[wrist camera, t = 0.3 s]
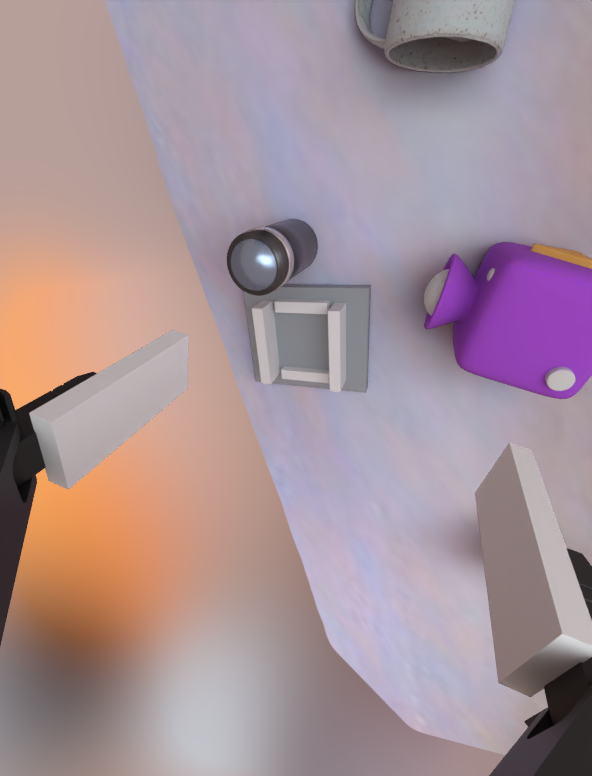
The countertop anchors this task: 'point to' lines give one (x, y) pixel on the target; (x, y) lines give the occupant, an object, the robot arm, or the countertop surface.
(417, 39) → the ceramic mug
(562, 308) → the toy camera
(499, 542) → the robot arm
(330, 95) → the countertop surface
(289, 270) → the lens
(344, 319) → the mount
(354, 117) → the countertop surface
